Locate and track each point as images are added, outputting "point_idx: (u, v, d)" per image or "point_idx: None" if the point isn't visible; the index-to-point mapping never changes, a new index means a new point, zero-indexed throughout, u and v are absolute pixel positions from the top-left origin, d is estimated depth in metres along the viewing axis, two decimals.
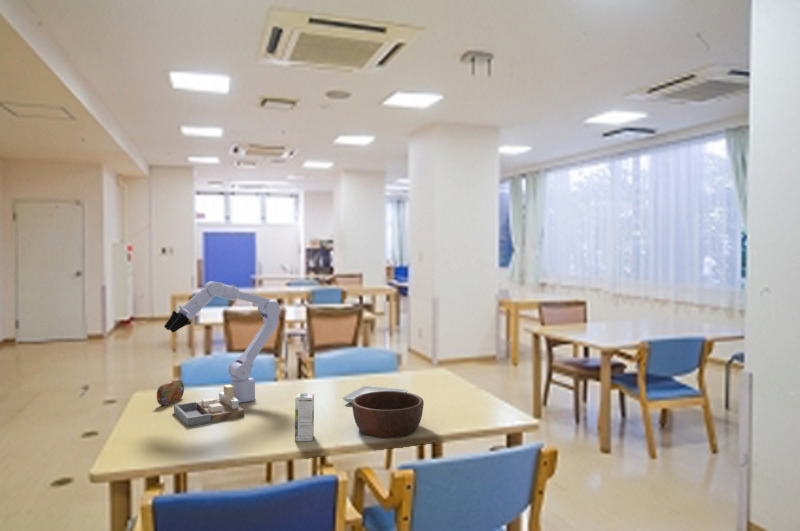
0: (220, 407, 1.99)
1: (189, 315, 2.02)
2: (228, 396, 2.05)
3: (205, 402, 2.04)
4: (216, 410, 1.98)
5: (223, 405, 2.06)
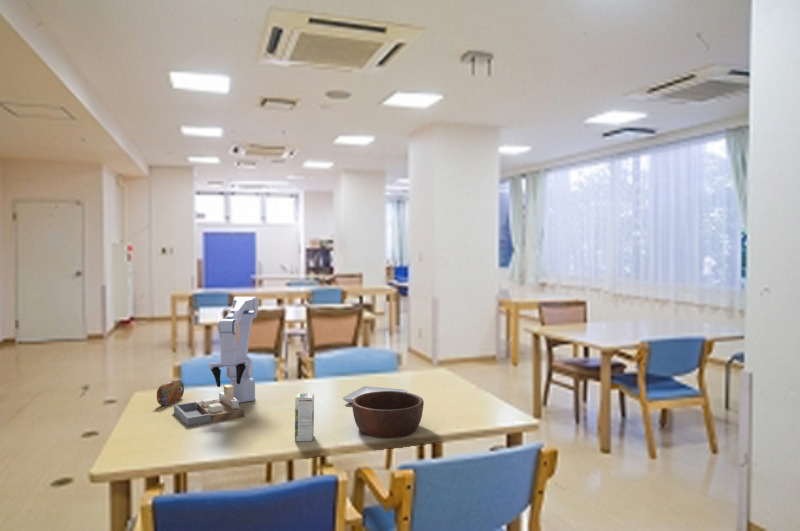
0: (220, 407, 1.99)
1: None
2: (228, 396, 2.05)
3: (205, 402, 2.04)
4: (216, 410, 1.98)
5: (223, 405, 2.06)
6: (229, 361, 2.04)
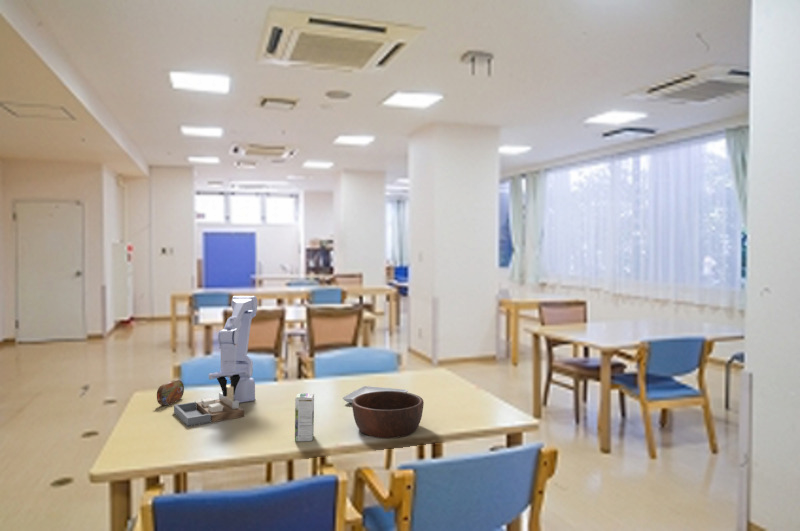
0: (220, 407, 1.99)
1: None
2: (228, 396, 2.05)
3: (205, 402, 2.04)
4: (216, 410, 1.98)
5: (223, 405, 2.06)
6: (229, 371, 2.04)
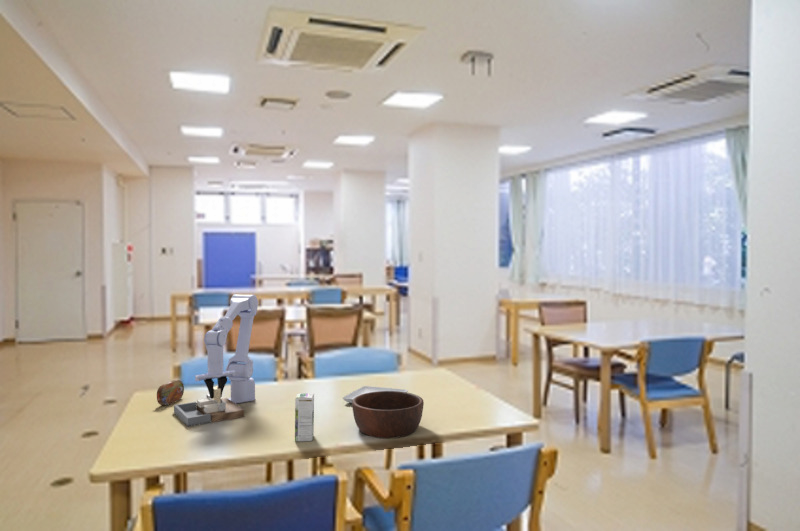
0: (215, 408, 1.98)
1: None
2: (215, 398, 2.02)
3: (201, 403, 2.03)
4: (211, 411, 1.97)
5: None
6: (216, 373, 2.01)
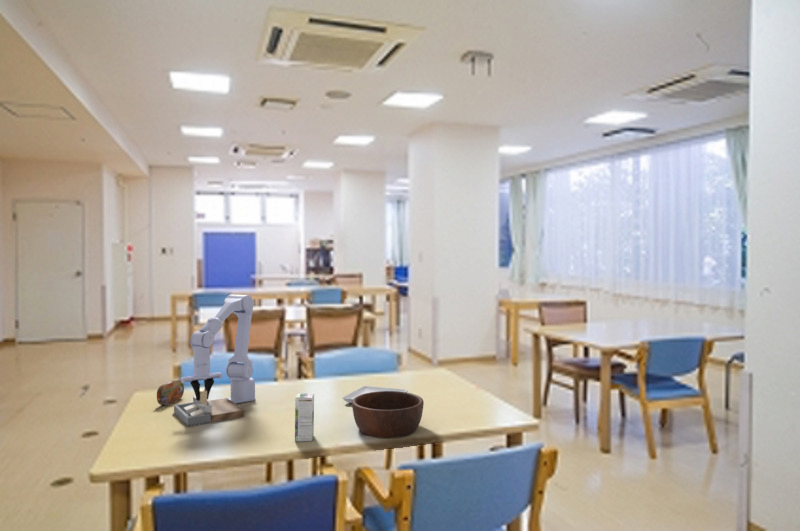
0: (202, 414, 1.95)
1: None
2: (201, 400, 1.99)
3: (187, 410, 2.00)
4: None
5: (223, 405, 2.06)
6: (202, 375, 1.98)
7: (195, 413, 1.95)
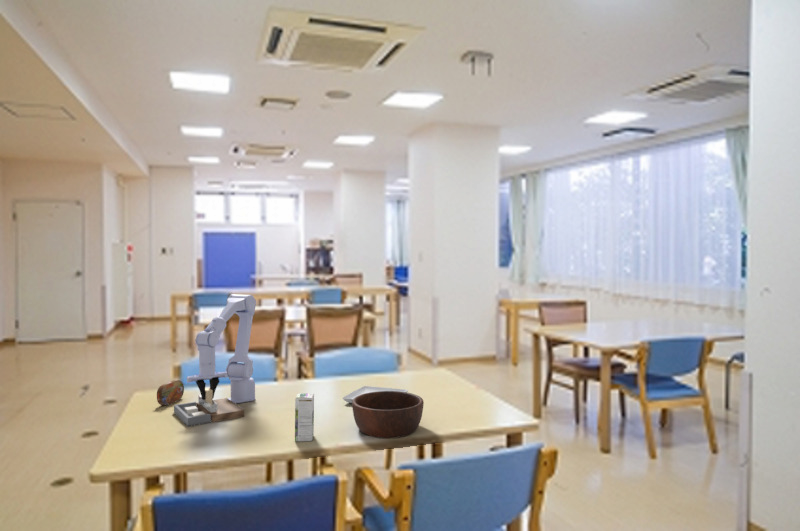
0: None
1: None
2: (207, 399, 2.00)
3: (188, 410, 2.01)
4: None
5: (223, 405, 2.06)
6: (208, 374, 2.00)
7: (197, 414, 1.95)
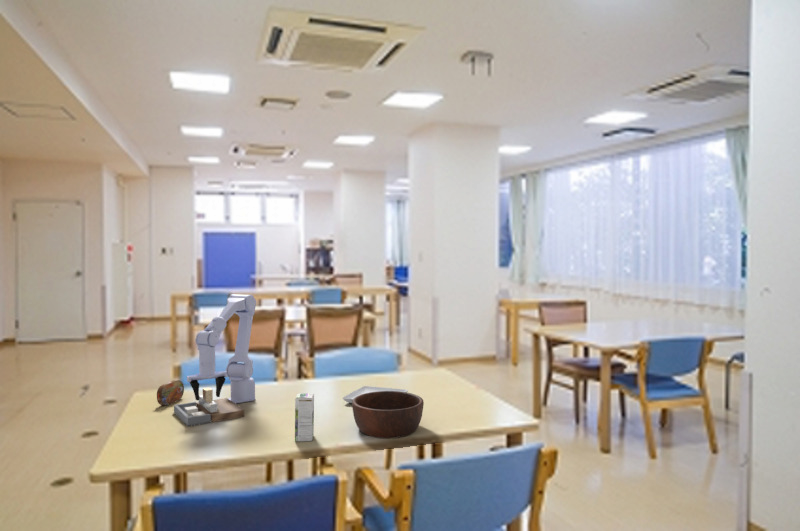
0: None
1: None
2: (207, 399, 2.00)
3: (188, 410, 2.01)
4: None
5: (223, 405, 2.06)
6: (208, 374, 2.00)
7: (197, 414, 1.95)
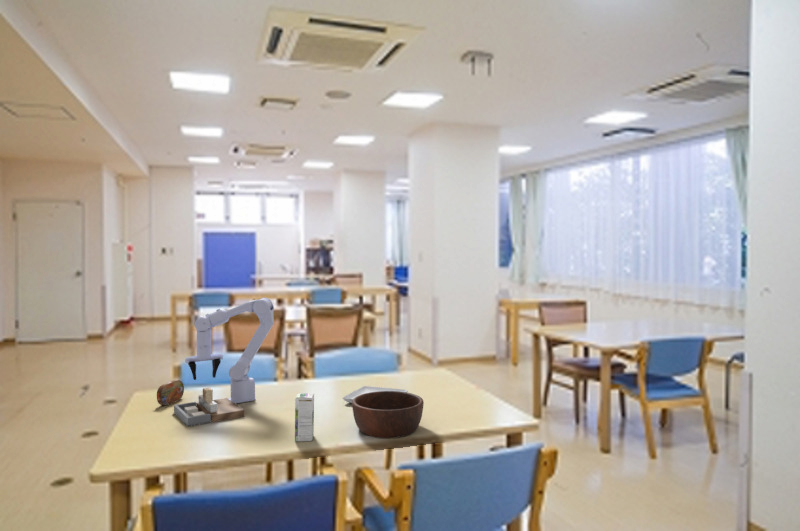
0: None
1: None
2: (207, 399, 2.00)
3: (188, 410, 2.01)
4: None
5: (223, 405, 2.06)
6: (204, 356, 2.18)
7: (197, 414, 1.95)
